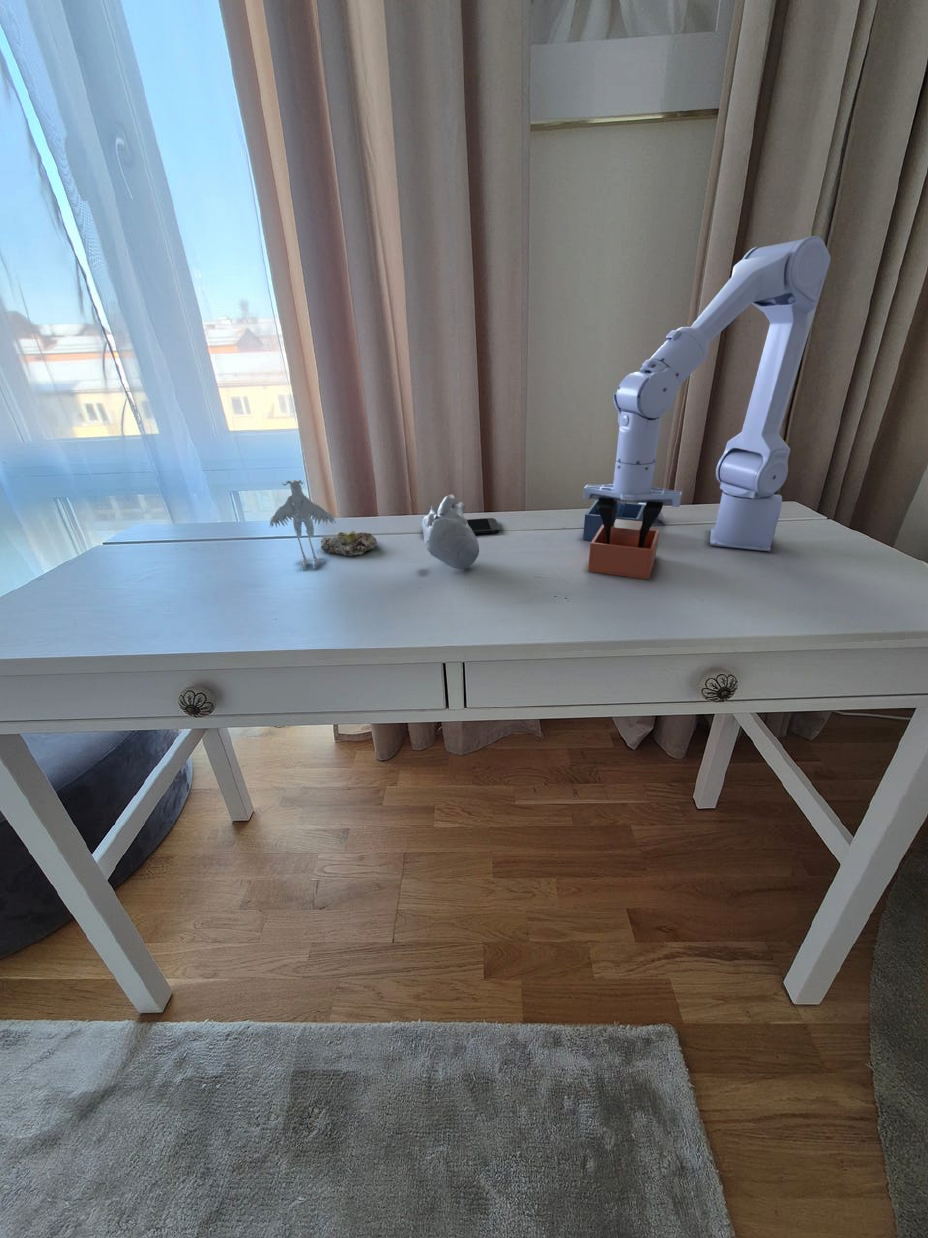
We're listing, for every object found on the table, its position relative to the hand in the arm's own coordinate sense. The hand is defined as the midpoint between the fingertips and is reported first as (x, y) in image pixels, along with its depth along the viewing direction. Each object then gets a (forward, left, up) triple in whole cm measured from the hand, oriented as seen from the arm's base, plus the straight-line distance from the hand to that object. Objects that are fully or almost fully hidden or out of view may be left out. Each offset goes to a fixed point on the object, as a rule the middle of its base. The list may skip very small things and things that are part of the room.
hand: (624, 545), depth 83 cm
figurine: (+51, +18, -4) cm, 54 cm away
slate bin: (+4, -14, -3) cm, 15 cm away
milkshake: (+4, -14, -3) cm, 15 cm away
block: (0, 0, -1) cm, 1 cm away
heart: (+27, +10, -4) cm, 29 cm away
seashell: (-1, -24, -4) cm, 24 cm away
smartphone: (+33, -7, -3) cm, 34 cm away
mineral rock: (+49, +9, -4) cm, 50 cm away
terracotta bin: (0, 0, -3) cm, 3 cm away
